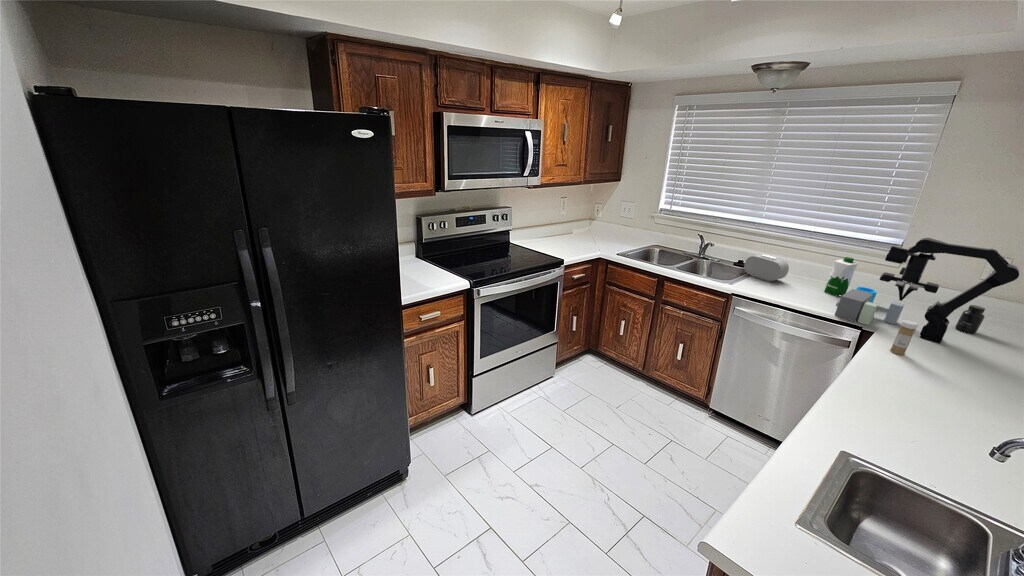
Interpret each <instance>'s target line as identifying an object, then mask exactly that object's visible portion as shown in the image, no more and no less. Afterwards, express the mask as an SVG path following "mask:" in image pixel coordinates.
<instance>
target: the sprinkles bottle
mask: <svg viewBox="0 0 1024 576" xmlns="http://www.w3.org/2000/svg"><path fill="white" fill-rule="evenodd" d="M918 326H919V325H918V323H917V322H915V321H913V320H908V319H907V320H906V319H905V320H904V319H903V320H902V321H901V323H900V327H899V329H898V331H897V333H896V336H895V337H894V340H893V342H892V345H891V347H890V349H889V351H890V352H891V353H893V354H895V355H899V356H904V355H906V351H907V349H908V347H909V345H910V343H911V341H912V338H913V336H914V333H915V330H917V328H918Z"/></svg>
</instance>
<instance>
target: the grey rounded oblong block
mask: <svg viewBox="0 0 1024 576" xmlns="http://www.w3.org/2000/svg"><path fill="white" fill-rule="evenodd" d="M743 268H744V271H745V273H747V274H748V275H749V276H750V277H754V278H757V279H760V280H763V281H766V282H773V281H777V280H781V279H784V278H785V277H786V276H787V275H788V273H789V269H790V268H789V263H788V262H787V261H785V260H784V259H781V258H777V257H775V256H771V255H768V254H755V255H752V256H748V257H747V258H746V260H745V262H744V267H743Z"/></svg>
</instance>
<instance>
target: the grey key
mask: <svg viewBox="0 0 1024 576" xmlns="http://www.w3.org/2000/svg"><path fill="white" fill-rule="evenodd" d="M904 308H905V303H902V302H897V301H892V302H891V303H890V305H889V306H888V307H886V306H884V305H880V304H878V307H877V309H876V311H879V312H882V313H886V314H885V316H884V320H883V322H886V323H889V324H891V325H896V323H898V321H899V319H900V317H901V314H902V312H903V309H904Z"/></svg>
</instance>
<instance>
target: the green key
mask: <svg viewBox="0 0 1024 576" xmlns="http://www.w3.org/2000/svg"><path fill="white" fill-rule="evenodd" d="M839 301H840V300H838V301H837V302H836V304H835V307H836V308H837V307H838V304H839ZM878 305H879V304H878V303H874V302H873V303H871V302H866V303H865V304H864V306H863V308H860V311H859V313H861V314H860V316H859V319H857V320H856V321H857V322H858V323H861V324H864V325H868V326H869V325H870V324H871V323H872V321H873V319H874V316H875V313H876V311H877V310H876V309H877V307H878Z"/></svg>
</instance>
